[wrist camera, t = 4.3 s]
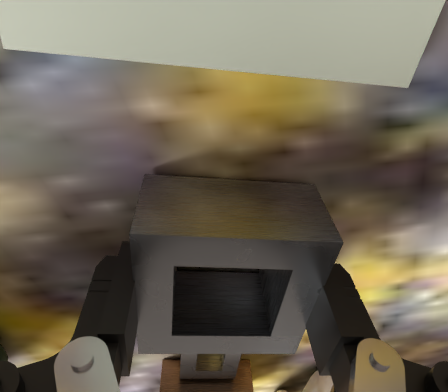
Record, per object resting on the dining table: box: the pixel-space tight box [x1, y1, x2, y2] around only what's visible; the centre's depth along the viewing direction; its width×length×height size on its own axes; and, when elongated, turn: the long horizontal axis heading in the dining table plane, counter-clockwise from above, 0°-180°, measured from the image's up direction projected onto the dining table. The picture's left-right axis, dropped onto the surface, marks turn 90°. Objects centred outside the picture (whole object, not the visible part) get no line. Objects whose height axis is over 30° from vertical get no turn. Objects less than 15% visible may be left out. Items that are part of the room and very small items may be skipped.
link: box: [129, 174, 343, 354], centre depth 12 cm, size 6×6×3 cm
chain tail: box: [160, 354, 253, 392], centre depth 18 cm, size 5×8×2 cm, turn 174°
